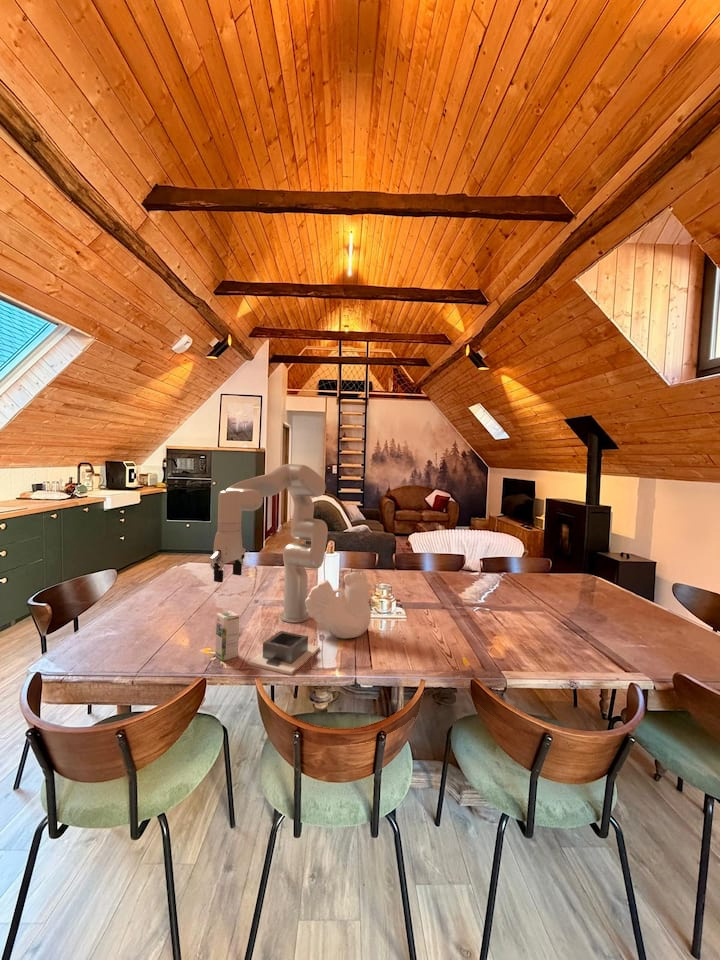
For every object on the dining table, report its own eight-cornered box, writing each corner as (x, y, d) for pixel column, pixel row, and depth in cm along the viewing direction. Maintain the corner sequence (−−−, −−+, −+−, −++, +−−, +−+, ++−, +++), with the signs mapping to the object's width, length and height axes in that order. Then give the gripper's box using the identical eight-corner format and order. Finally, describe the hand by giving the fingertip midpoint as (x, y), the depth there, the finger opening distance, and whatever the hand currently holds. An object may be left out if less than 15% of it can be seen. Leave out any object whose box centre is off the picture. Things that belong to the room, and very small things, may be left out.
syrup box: (214, 655, 148) (215, 613, 147) (230, 650, 152) (231, 609, 151) (222, 661, 144) (223, 618, 143) (238, 656, 148) (239, 614, 147)
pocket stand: (280, 641, 161) (281, 625, 161) (319, 649, 156) (320, 633, 155) (248, 664, 143) (248, 646, 142) (291, 675, 137) (291, 656, 137)
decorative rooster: (372, 628, 177) (374, 567, 175) (367, 645, 161) (369, 578, 160) (312, 622, 180) (314, 563, 179) (301, 638, 165) (303, 573, 163)
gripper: (236, 523, 155) (234, 571, 156) (202, 529, 139) (200, 583, 140) (254, 525, 152) (252, 573, 153) (221, 532, 136) (220, 586, 137)
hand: (228, 578), depth 146 cm, fingers open, 9 cm apart
